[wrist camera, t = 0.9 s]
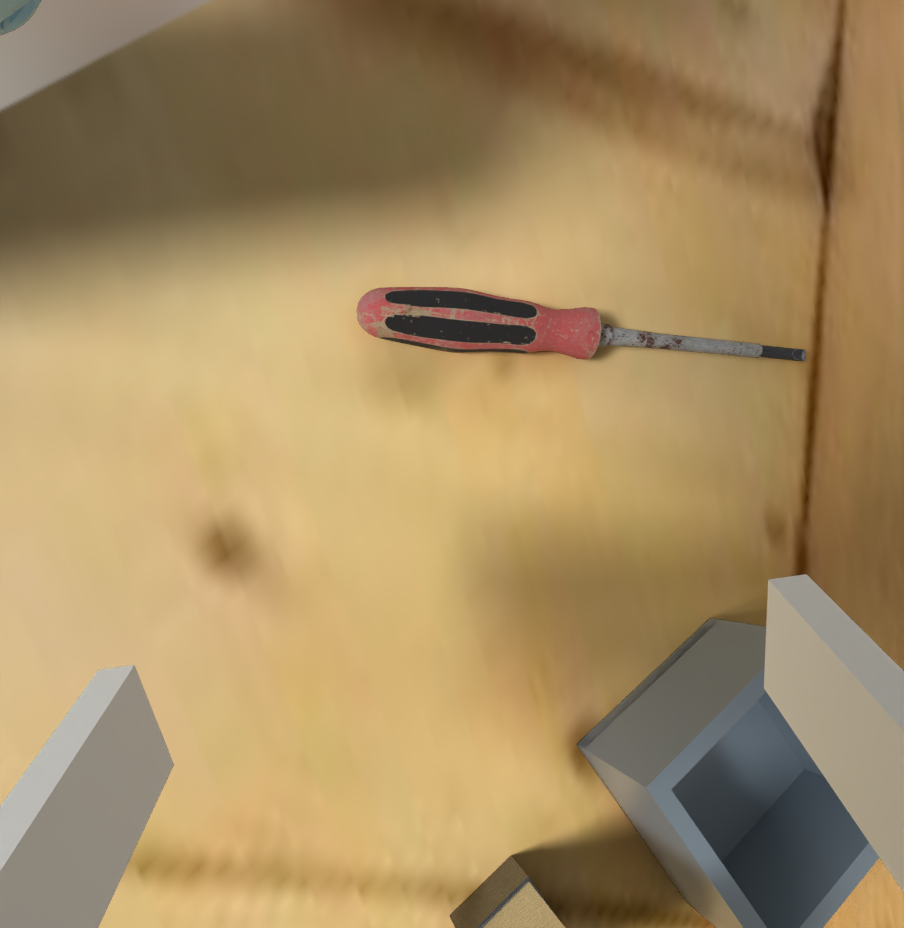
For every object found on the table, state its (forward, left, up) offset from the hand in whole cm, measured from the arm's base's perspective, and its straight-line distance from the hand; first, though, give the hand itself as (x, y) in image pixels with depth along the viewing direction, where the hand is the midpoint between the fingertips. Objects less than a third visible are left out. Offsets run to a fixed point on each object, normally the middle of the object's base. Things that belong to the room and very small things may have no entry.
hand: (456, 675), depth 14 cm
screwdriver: (-4, +18, -17) cm, 25 cm away
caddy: (+16, +9, -16) cm, 25 cm away
